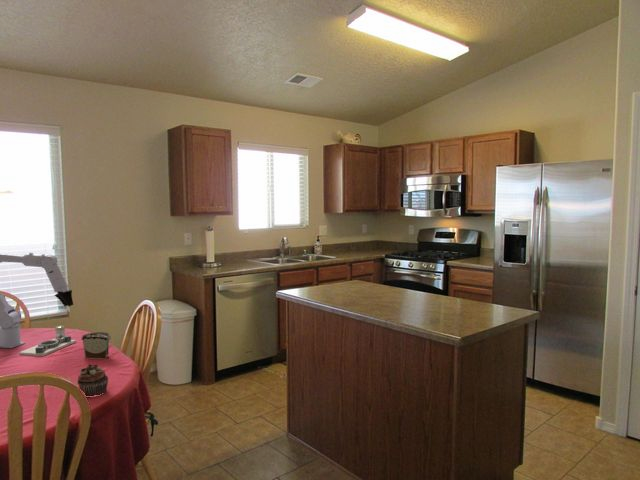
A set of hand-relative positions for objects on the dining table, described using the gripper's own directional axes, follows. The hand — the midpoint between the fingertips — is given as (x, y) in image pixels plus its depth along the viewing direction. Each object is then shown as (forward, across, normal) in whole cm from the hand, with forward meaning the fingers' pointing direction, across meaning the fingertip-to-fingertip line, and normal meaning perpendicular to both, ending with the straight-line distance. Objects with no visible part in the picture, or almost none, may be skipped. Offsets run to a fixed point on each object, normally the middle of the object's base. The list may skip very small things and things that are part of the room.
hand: (69, 305), depth 213 cm
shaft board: (+14, -1, +15) cm, 21 cm away
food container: (+23, -27, +2) cm, 36 cm away
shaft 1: (+14, -7, +19) cm, 24 cm away
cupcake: (+26, -66, +16) cm, 72 cm away
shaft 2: (+16, +1, +8) cm, 18 cm away
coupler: (+14, +11, +8) cm, 20 cm away
